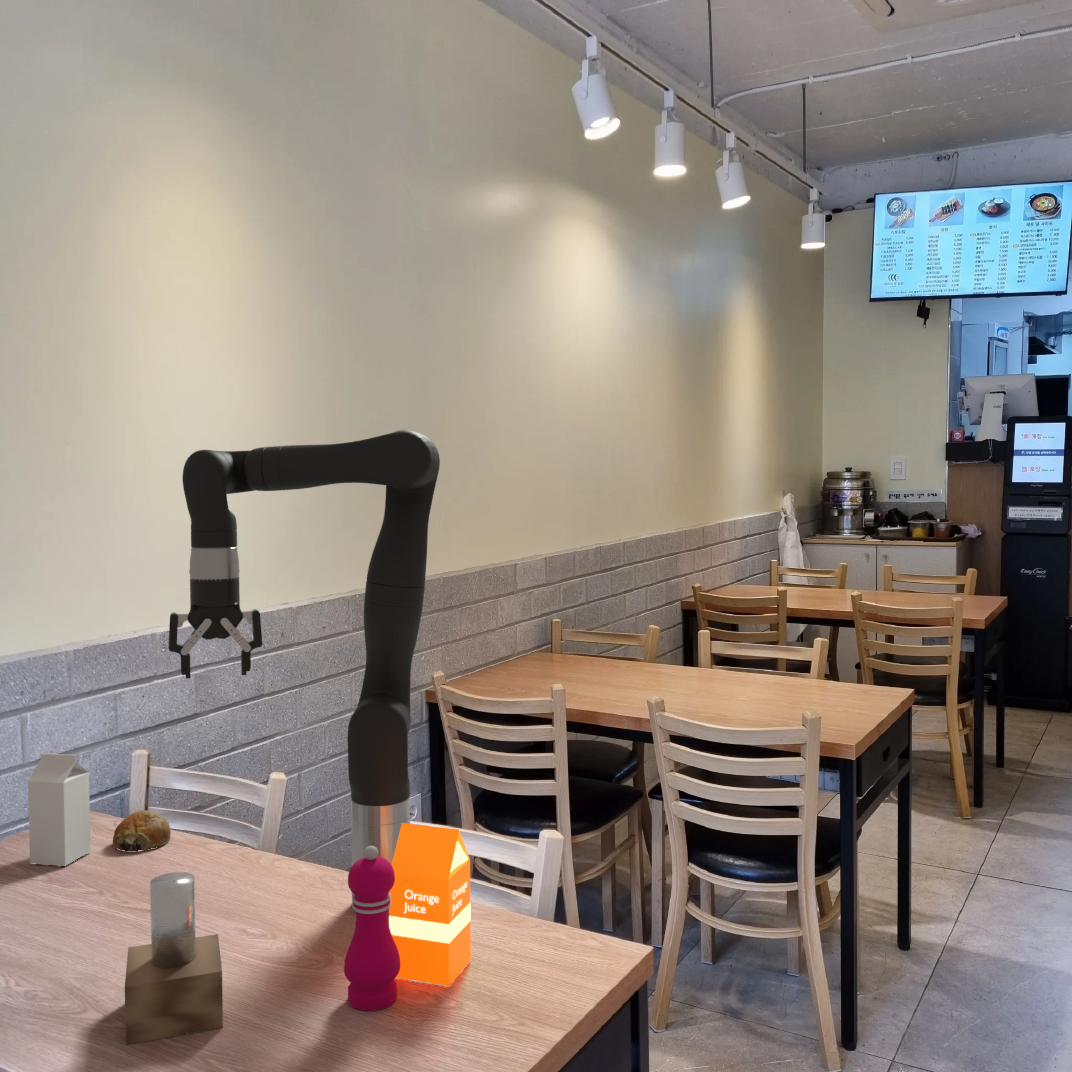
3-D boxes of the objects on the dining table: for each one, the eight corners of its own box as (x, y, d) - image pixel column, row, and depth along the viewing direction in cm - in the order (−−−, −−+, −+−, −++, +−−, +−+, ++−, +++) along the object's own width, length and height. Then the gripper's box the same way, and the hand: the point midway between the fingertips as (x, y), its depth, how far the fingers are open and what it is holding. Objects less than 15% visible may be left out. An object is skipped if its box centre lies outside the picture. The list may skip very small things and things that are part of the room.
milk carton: (65, 867, 174) (62, 760, 173) (29, 865, 176) (27, 758, 175) (91, 853, 181) (88, 750, 180) (56, 850, 183) (54, 748, 182)
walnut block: (218, 986, 132) (218, 934, 132) (222, 1027, 122) (222, 971, 121) (129, 1000, 128) (128, 947, 128) (125, 1044, 118) (124, 987, 118)
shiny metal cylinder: (195, 946, 128) (194, 869, 128) (196, 964, 123) (194, 884, 123) (152, 952, 126) (150, 875, 126) (151, 971, 121) (149, 890, 121)
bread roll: (174, 863, 186) (188, 819, 189) (130, 855, 178) (146, 810, 181) (140, 853, 192) (155, 811, 194) (96, 844, 184) (112, 801, 186)
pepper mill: (375, 1019, 123) (373, 860, 123) (332, 1003, 127) (330, 849, 126) (412, 994, 130) (411, 843, 129) (370, 980, 133) (368, 833, 133)
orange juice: (449, 988, 131) (448, 839, 130) (388, 978, 134) (387, 831, 133) (471, 962, 139) (470, 820, 138) (414, 953, 141) (412, 814, 141)
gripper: (167, 578, 153) (169, 683, 154) (262, 575, 158) (264, 677, 158) (167, 575, 160) (169, 675, 161) (258, 572, 165) (260, 669, 166)
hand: (216, 676), depth 160 cm, fingers open, 8 cm apart
